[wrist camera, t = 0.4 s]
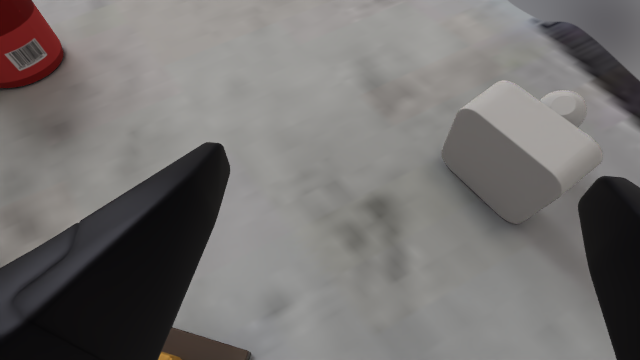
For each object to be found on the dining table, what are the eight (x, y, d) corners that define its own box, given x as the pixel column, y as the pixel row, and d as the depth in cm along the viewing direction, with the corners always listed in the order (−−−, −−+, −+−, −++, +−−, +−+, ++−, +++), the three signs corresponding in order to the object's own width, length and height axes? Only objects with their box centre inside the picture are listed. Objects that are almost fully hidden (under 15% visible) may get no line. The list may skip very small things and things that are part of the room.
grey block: (590, 164, 28) (694, 88, 19) (504, 234, 27) (572, 189, 18) (514, 107, 31) (572, 19, 22) (434, 167, 30) (461, 100, 21)
